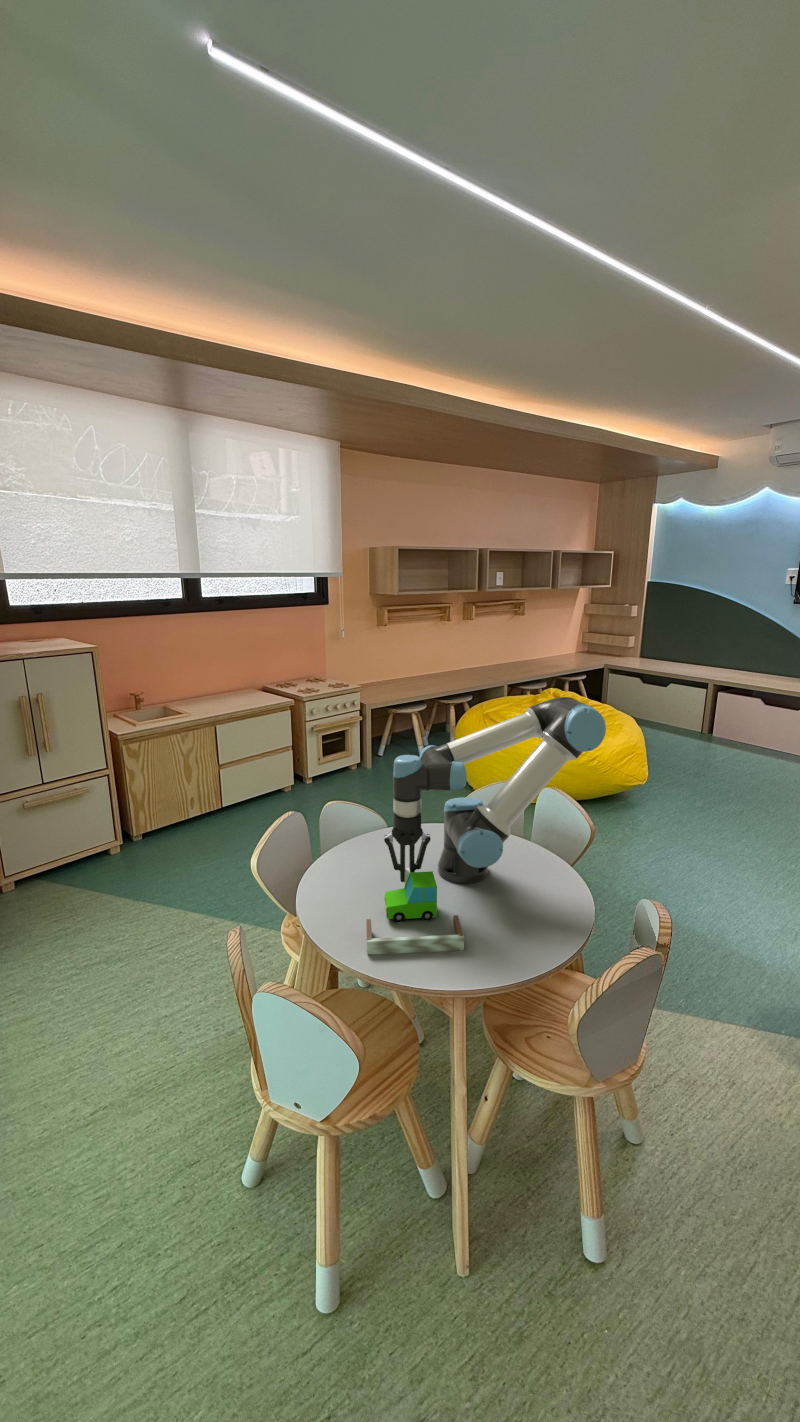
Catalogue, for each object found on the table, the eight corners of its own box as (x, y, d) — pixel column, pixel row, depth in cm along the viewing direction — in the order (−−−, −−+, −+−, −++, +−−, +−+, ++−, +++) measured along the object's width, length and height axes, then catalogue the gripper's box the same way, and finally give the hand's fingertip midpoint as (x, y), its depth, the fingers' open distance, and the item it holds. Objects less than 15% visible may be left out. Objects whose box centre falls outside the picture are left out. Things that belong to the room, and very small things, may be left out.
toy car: (384, 905, 167) (383, 871, 165) (431, 902, 169) (432, 869, 166) (386, 926, 157) (386, 891, 155) (437, 923, 159) (437, 888, 156)
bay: (457, 927, 156) (457, 915, 156) (463, 950, 147) (464, 937, 146) (366, 931, 155) (366, 919, 154) (367, 954, 146) (366, 941, 145)
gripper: (429, 806, 168) (429, 884, 173) (382, 807, 167) (383, 885, 173) (432, 817, 161) (431, 897, 166) (383, 818, 160) (384, 899, 165)
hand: (407, 891), depth 169 cm, fingers closed
